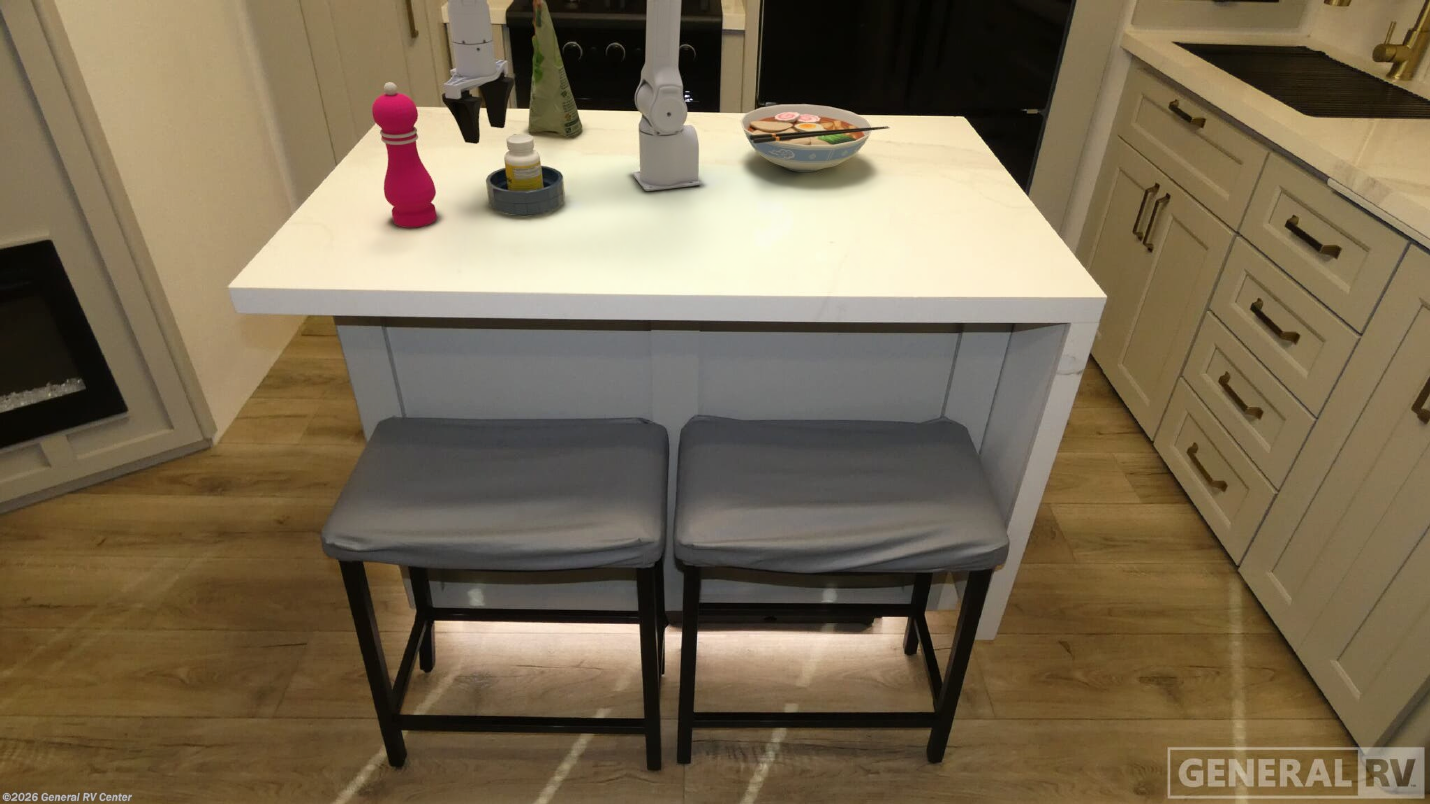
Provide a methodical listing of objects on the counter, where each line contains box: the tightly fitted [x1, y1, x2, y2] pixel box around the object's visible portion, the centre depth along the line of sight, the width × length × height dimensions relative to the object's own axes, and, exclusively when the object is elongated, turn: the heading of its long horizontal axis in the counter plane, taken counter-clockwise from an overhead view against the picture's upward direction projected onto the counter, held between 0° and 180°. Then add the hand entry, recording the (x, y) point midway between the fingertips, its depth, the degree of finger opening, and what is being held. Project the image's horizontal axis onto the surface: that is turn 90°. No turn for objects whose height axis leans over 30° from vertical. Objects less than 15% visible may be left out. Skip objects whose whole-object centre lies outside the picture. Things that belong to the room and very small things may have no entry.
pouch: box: [527, 0, 583, 137], centre depth 157 cm, size 11×12×25 cm
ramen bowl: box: [739, 103, 890, 173], centre depth 150 cm, size 25×23×8 cm
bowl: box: [485, 165, 566, 217], centre depth 134 cm, size 12×12×4 cm
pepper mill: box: [371, 81, 438, 228], centre depth 124 cm, size 7×7×20 cm
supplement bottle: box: [503, 133, 543, 191], centre depth 132 cm, size 5×5×10 cm
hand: (485, 134), depth 131 cm, fingers open, 7 cm apart
